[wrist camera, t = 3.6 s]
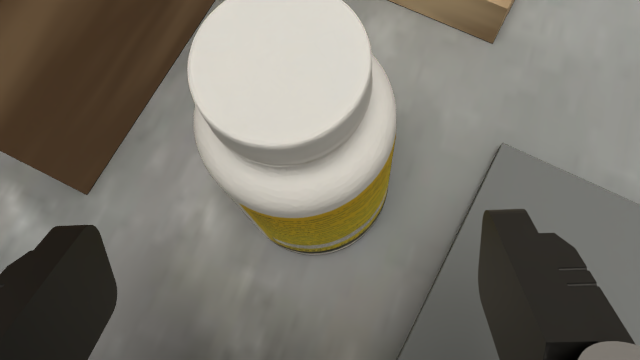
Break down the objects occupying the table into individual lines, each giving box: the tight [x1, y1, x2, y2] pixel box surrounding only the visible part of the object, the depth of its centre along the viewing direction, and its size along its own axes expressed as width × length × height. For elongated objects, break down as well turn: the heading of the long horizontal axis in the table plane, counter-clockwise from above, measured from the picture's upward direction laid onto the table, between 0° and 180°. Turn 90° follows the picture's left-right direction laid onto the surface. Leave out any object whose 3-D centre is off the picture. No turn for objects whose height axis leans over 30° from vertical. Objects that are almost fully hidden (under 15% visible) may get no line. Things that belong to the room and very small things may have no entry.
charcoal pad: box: [397, 143, 640, 360], centre depth 18 cm, size 10×10×1 cm
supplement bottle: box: [187, 0, 397, 255], centre depth 16 cm, size 5×5×10 cm
